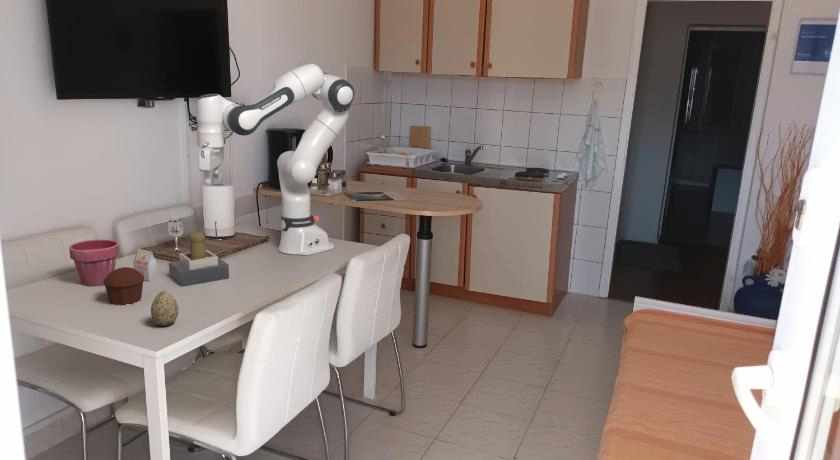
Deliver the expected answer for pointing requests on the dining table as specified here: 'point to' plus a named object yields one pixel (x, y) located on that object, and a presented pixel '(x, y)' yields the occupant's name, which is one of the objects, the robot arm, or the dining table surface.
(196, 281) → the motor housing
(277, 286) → the dining table surface
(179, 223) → the wineglass
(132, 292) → the muffin
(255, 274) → the dining table surface
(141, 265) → the white box
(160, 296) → the decorative egg
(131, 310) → the dining table surface
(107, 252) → the plant pot
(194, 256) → the cork
